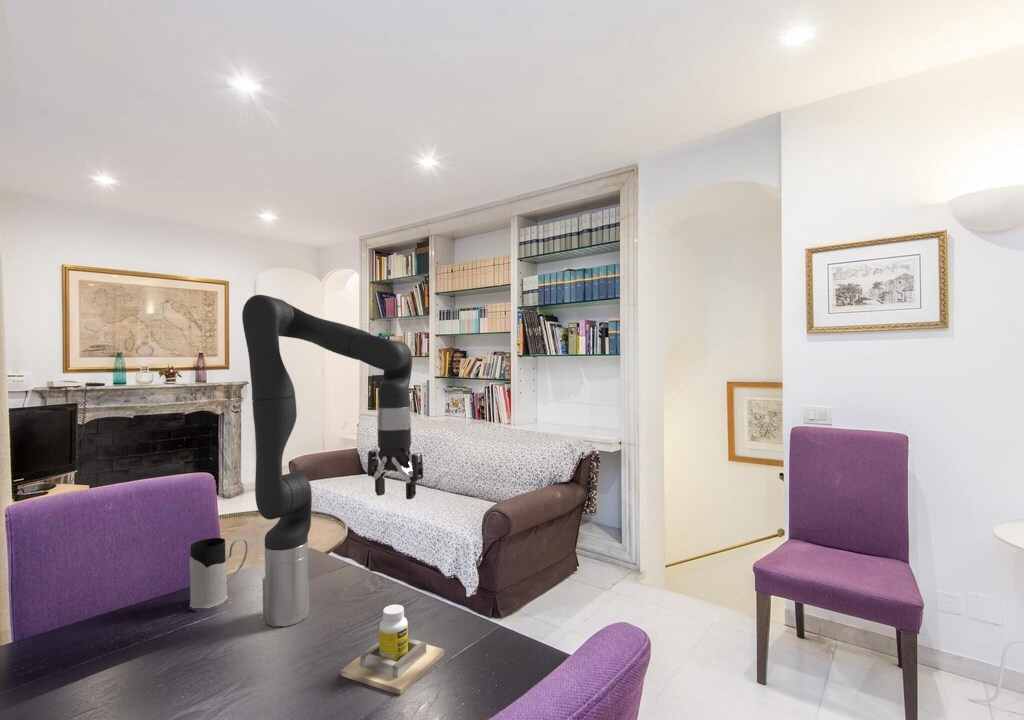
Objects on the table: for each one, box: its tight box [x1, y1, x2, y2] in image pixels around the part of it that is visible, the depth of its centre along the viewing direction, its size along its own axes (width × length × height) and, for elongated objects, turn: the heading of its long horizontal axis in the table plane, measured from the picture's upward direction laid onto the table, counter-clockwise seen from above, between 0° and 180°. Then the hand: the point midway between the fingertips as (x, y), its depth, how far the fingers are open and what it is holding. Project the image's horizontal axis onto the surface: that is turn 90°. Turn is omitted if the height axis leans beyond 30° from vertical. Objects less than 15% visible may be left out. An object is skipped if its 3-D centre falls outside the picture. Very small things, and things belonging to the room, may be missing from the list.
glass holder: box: [189, 537, 249, 608], centre depth 130 cm, size 9×14×15 cm, turn 145°
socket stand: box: [340, 637, 445, 696], centre depth 100 cm, size 14×14×3 cm
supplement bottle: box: [378, 604, 409, 662], centre depth 100 cm, size 5×5×10 cm
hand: (395, 496), depth 119 cm, fingers open, 8 cm apart
